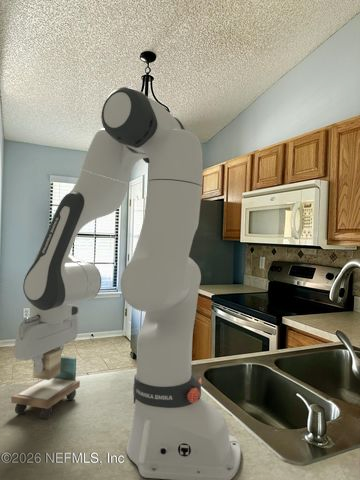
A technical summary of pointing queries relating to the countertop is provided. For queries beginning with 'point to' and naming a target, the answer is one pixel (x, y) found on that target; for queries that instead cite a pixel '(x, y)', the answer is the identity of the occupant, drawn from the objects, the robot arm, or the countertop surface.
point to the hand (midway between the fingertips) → (47, 367)
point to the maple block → (49, 365)
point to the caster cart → (49, 390)
